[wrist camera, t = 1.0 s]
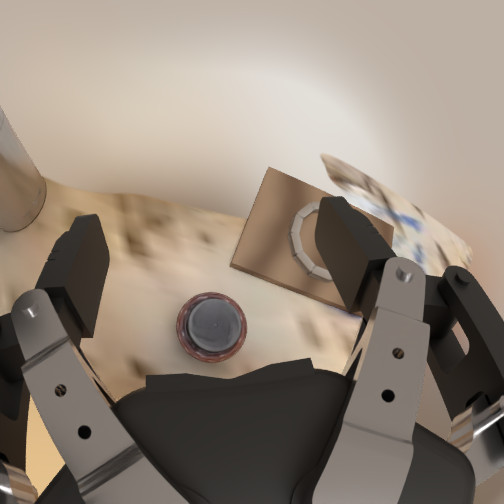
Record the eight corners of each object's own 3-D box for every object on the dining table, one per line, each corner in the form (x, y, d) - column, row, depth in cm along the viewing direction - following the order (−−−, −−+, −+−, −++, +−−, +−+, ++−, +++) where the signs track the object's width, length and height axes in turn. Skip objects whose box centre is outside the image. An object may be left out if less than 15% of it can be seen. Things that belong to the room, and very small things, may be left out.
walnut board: (229, 266, 35) (233, 259, 32) (265, 172, 40) (271, 161, 37) (372, 321, 37) (385, 318, 34) (388, 230, 42) (398, 223, 39)
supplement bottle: (228, 302, 33) (250, 281, 23) (235, 354, 32) (262, 358, 21) (174, 307, 32) (171, 288, 21) (181, 361, 30) (181, 369, 20)
